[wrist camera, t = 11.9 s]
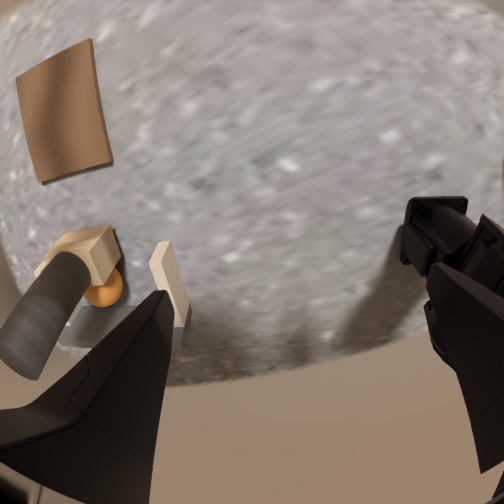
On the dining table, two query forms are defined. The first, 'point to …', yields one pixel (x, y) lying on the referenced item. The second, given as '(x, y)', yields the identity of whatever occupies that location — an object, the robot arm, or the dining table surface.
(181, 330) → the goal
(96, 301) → the ball
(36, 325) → the ball
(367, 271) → the dining table surface
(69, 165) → the brown rectangular plate
